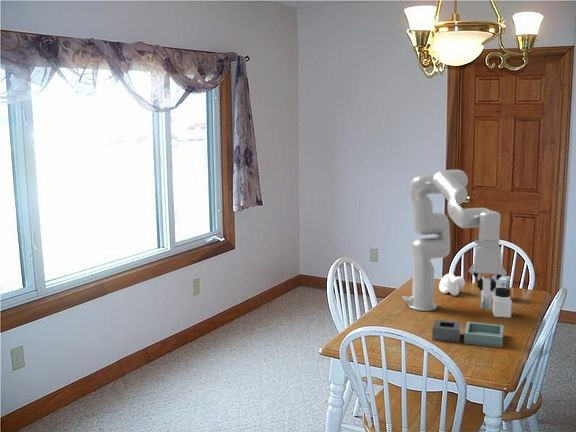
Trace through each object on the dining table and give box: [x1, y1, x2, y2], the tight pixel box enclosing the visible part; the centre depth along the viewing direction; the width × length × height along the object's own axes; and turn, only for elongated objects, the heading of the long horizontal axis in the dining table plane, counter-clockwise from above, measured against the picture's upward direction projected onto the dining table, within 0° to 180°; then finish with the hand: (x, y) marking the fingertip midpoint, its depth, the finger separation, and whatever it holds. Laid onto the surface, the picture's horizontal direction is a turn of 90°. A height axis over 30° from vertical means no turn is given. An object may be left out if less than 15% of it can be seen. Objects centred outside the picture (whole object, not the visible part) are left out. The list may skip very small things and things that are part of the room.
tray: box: [463, 321, 505, 348], centre depth 256 cm, size 14×14×4 cm
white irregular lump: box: [438, 273, 466, 297], centre depth 316 cm, size 11×12×9 cm
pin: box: [480, 273, 493, 310], centre depth 253 cm, size 5×5×14 cm
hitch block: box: [431, 319, 462, 344], centre depth 258 cm, size 10×10×5 cm
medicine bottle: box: [492, 287, 513, 319], centre depth 284 cm, size 7×7×12 cm
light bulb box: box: [492, 275, 511, 301], centre depth 307 cm, size 11×7×11 cm, turn 58°
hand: (486, 289), depth 253 cm, fingers closed on pin, 4 cm apart
